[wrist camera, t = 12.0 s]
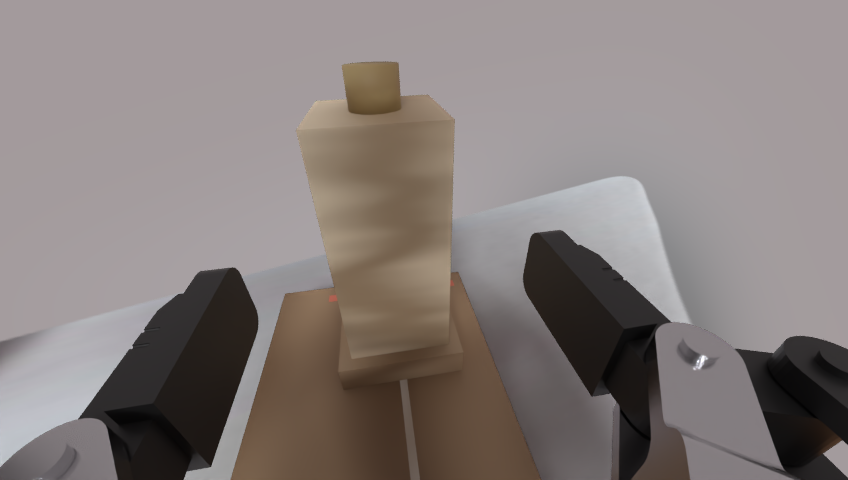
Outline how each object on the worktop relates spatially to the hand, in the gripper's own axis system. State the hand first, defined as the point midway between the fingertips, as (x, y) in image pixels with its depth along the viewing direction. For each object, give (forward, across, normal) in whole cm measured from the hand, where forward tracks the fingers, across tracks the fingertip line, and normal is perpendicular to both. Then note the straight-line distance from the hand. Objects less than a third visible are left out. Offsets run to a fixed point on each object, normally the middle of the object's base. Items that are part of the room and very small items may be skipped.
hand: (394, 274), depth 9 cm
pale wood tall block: (+3, 0, +6) cm, 7 cm away
